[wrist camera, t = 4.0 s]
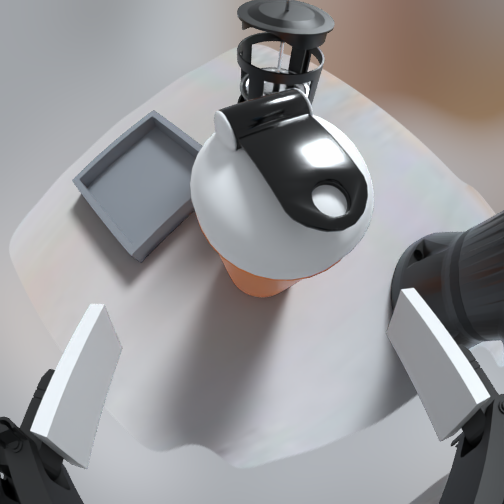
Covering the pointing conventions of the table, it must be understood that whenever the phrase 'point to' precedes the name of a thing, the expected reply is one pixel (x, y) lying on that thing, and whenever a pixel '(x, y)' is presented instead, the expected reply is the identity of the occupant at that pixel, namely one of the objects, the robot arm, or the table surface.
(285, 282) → the shaker bottle
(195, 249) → the table surface
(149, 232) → the tray
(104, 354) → the robot arm
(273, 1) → the french press
